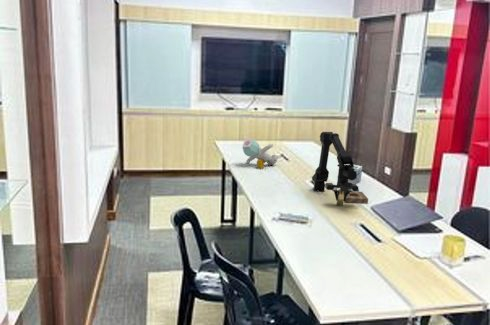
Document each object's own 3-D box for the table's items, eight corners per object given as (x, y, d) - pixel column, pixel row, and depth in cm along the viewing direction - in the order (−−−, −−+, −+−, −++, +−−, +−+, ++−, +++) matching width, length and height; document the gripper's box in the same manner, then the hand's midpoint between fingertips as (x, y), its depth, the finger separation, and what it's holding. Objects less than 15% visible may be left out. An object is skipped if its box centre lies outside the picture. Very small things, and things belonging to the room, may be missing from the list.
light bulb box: (356, 183, 314) (358, 168, 311) (347, 182, 317) (348, 167, 314) (361, 180, 323) (362, 165, 320) (352, 178, 326) (353, 164, 323)
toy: (288, 147, 342) (257, 128, 330) (285, 166, 332) (253, 147, 320) (262, 163, 365) (232, 146, 353) (259, 181, 355) (228, 164, 342)
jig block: (344, 202, 273) (345, 198, 272) (339, 195, 286) (340, 190, 286) (367, 203, 273) (368, 198, 272) (361, 196, 287) (362, 191, 286)
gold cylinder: (337, 205, 267) (338, 191, 265) (335, 203, 271) (337, 189, 268) (343, 205, 267) (345, 191, 265) (342, 203, 271) (343, 189, 269)
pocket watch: (357, 172, 301) (363, 178, 287) (356, 188, 304) (361, 195, 289) (342, 171, 301) (348, 178, 287) (341, 187, 304) (346, 194, 289)
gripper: (330, 178, 256) (327, 204, 260) (362, 180, 257) (359, 205, 261) (326, 173, 267) (323, 198, 271) (357, 174, 268) (354, 199, 271)
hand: (340, 200), depth 268 cm, fingers closed on gold cylinder, 4 cm apart
